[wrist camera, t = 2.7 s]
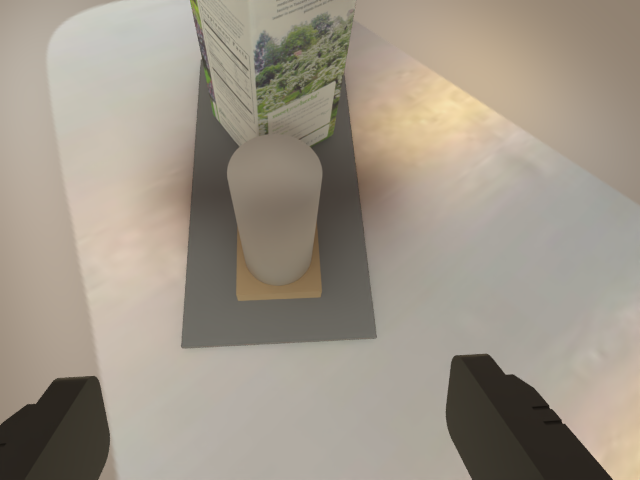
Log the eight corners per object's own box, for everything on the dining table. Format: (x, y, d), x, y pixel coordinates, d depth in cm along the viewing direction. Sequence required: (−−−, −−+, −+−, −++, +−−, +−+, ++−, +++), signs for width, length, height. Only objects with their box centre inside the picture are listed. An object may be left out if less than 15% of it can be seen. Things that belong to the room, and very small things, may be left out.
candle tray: (342, 63, 32) (361, -69, 24) (375, 338, 23) (423, 277, 15) (201, 62, 31) (171, -75, 23) (182, 348, 22) (123, 289, 14)
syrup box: (284, 81, 30) (283, -198, 17) (337, 138, 28) (379, -126, 15) (212, 117, 29) (150, -164, 16) (263, 180, 27) (241, -79, 14)
